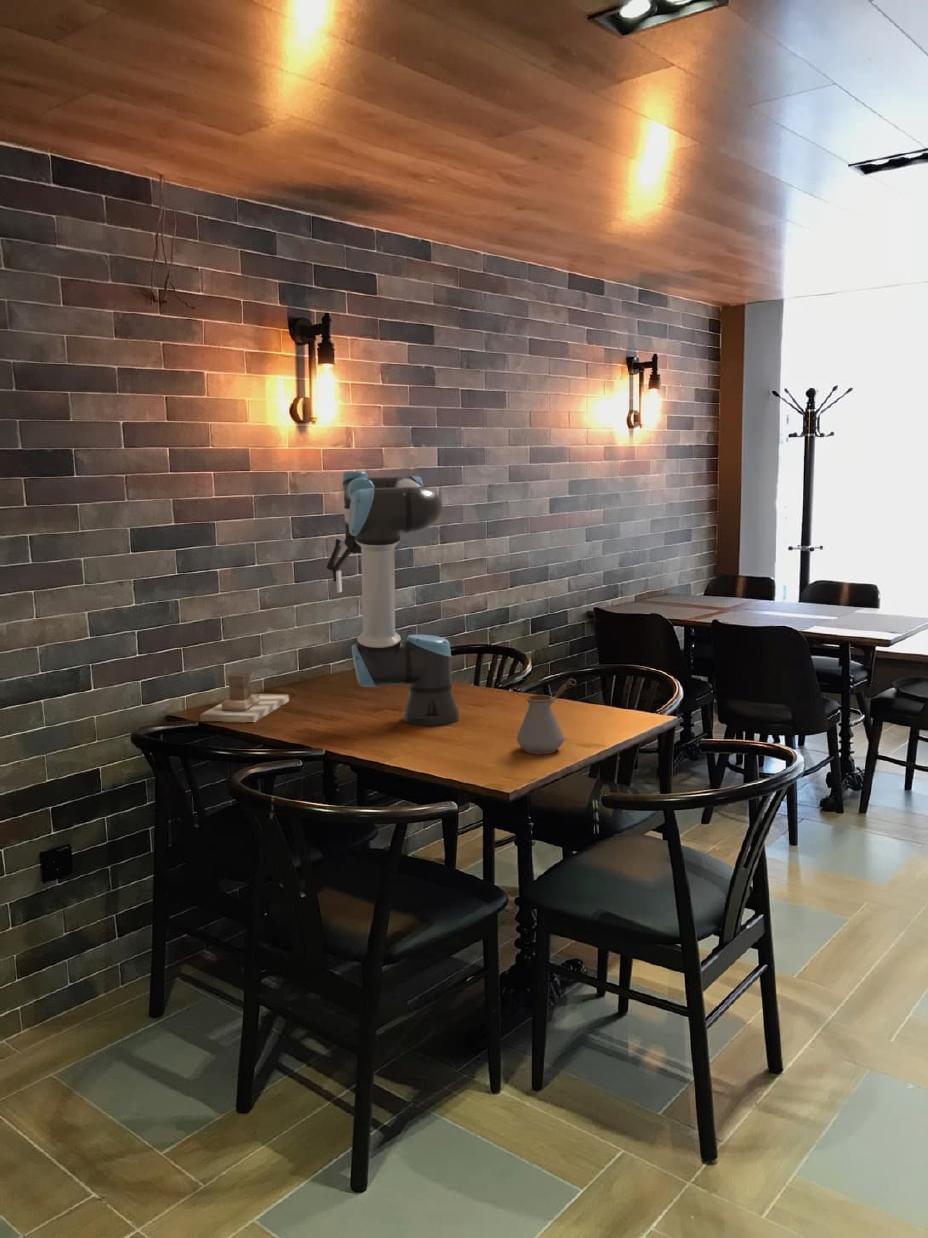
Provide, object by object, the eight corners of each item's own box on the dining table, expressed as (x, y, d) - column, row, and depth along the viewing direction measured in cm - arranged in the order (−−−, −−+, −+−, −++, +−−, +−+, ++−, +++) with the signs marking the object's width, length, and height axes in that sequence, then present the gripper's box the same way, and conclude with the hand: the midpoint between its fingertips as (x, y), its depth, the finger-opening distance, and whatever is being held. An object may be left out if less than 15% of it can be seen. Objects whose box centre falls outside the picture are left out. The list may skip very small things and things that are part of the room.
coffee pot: (548, 759, 228) (546, 696, 226) (507, 752, 235) (506, 691, 233) (593, 738, 245) (593, 679, 243) (554, 732, 252) (553, 675, 250)
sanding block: (237, 701, 289) (235, 670, 287) (259, 702, 287) (257, 670, 286) (222, 711, 278) (219, 678, 276) (245, 711, 277) (243, 678, 275)
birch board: (240, 700, 300) (239, 693, 300) (289, 701, 297) (288, 694, 296) (200, 721, 275) (200, 714, 275) (253, 722, 272) (253, 715, 271)
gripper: (400, 521, 298) (403, 590, 301) (322, 522, 303) (326, 590, 306) (393, 522, 290) (396, 593, 293) (314, 524, 295) (317, 593, 299)
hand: (360, 592), depth 300 cm, fingers open, 13 cm apart
